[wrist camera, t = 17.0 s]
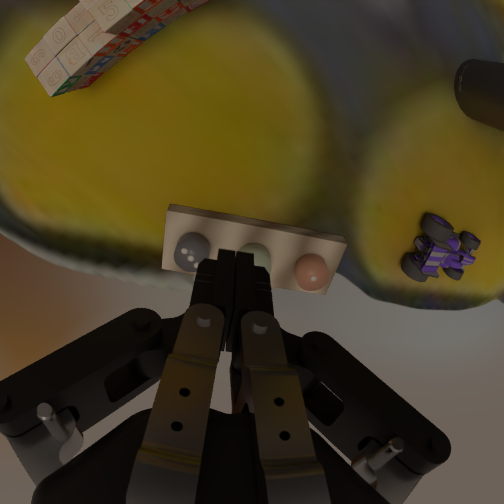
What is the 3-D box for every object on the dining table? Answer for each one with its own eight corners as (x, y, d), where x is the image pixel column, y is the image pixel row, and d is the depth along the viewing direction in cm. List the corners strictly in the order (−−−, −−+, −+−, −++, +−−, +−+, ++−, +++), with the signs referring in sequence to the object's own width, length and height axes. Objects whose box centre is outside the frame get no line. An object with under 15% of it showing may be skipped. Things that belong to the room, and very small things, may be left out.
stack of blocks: (88, 89, 31) (32, 103, 21) (64, 55, 28) (4, 59, 18) (236, -13, 26) (234, -49, 16) (208, -49, 23) (194, -92, 13)
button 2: (273, 246, 41) (275, 258, 39) (265, 273, 44) (266, 285, 42) (240, 241, 41) (240, 252, 39) (233, 268, 43) (233, 280, 41)
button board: (343, 236, 44) (347, 244, 42) (322, 286, 48) (325, 294, 47) (170, 204, 40) (167, 210, 39) (164, 260, 45) (161, 268, 43)
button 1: (330, 257, 43) (334, 268, 40) (319, 282, 45) (323, 294, 43) (300, 251, 42) (303, 262, 40) (290, 277, 44) (293, 289, 42)
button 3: (212, 236, 40) (210, 246, 38) (207, 264, 43) (205, 275, 40) (178, 230, 40) (175, 240, 38) (175, 258, 42) (171, 269, 40)
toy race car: (457, 275, 49) (474, 297, 43) (395, 261, 47) (412, 287, 41) (481, 231, 44) (502, 251, 39) (421, 209, 42) (442, 230, 36)
